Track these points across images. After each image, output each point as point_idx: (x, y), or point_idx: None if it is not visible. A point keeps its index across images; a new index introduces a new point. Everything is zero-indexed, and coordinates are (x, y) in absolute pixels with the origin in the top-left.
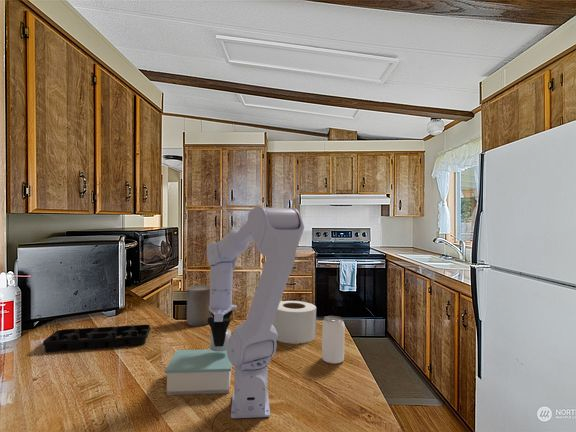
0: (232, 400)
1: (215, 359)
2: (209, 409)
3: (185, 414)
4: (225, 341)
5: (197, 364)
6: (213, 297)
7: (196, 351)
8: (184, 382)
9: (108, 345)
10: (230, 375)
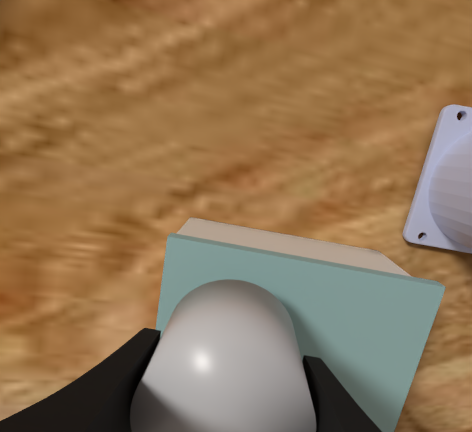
0: (461, 250)
1: (300, 345)
2: (459, 319)
3: (457, 383)
4: (300, 357)
5: None
6: None
7: None
8: None
9: None
10: (288, 240)
